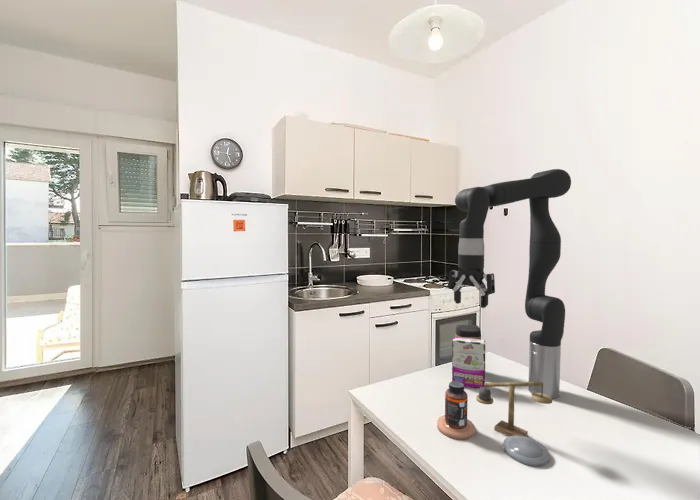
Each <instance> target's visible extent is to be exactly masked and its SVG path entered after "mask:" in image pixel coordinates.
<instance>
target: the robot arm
mask: <svg viewBox="0 0 700 500" xmlns="http://www.w3.org/2000/svg"><path fill="white" fill-rule="evenodd" d="M571 186H572V179H571V176H570V173H568V172H567V171H566V170H564V169H561V168H555V169H554V168H553V169H548V170H543V171H539V172H536V173H533V175H532V176H531V177H530V178H523V179H516V180H508V181H502V182H497V183H492V184H489V185H486V186H485V185H484V186H475V187H470V188H464V189H462V190H460V191H459V192H458V193H457V194H456V196H455V198H454V204H455V206H456V208H457V209H458V210H460V211H462V212H467V215H466V218H464V219H463V220H461V221H460V223H459V232H458V233H459V238H458V239H459V241H458V245H457V247H458V249H457V251H458V252H457V253H458V261H457V267H458V271H457V270H456V269H453V270H449V272H448V284H447V285H448V286H447V288H448V290H452V291H453V293H454V294H453V301H454V303H455V304H456V305H457V304H458V305H459V304H461V303H462V289H463V287H467V286H469V287H474V288H476V290H478V291H479V293H480V294H481V295H480V308H481V309H485V308H486V307H487V306H488V305H489V296H490V295H492V294H495V293H496V287H495V286H496V285H495V283H496V282H495V274H494V273H493V272H492V273H485V271H484V268H485V241H484V240H485V239H484V237H485V235H484V234H485V232H484V231H485V227H484V226H485V222H486V219H487V215H488V211H489V209H490V207H499V206H505V205H508V204H512V203H516V202H521V201H524V200H528V201H529V213H530V214H529V215H530V217H529V219H530V220H529V221H530V222H529V224H530V225H529V229H530V230H529V232H530V233H529V248H528V249H529V254H528V256H529V258H528V259H529V261H528V262H529V263H528V278H527V286H526V293H525V300H524V301H525V302H524V310H525V313H526V316H527V317H528V318H529V319H530V320H533V321H537V322H540V323H541V329H540V330H533V331H531V332H530V333H529V348H528V349H529V352H528V355H529V357H528V382H543V394H546V395H549V396H550V397H552V399H555V398H556V399H557V398H559V396H560V383H561V350H562V348H561V347H562V339H563V336H564V329H565V321H566V307H565V303H564V301H563V300H562V299H561V298H559V297H555V296H552V295H551V296H550V295H546V284H547V281H548V278H549V276H550V274H551V273H552V272H553V270H554V269H555V267H556V266H557V265H558V263H559V261H560V259H561V247H562V239H561V234H560V232H559V230H558V228H557V226H556V225H555V223H554V221H553V219H552V217H551V215H550V214H551V213H550V205H549V202H550V200H549V199H552V198H554V199H555V198H559V197H561V196H564V195H565V194H567V193H568V192H569V191H570V189H571ZM457 277H458V281H457ZM484 279H485V281H486V284H485V283H484ZM527 387H528V391H529V393H531V394H533V393H541V389H542V386H527Z"/></svg>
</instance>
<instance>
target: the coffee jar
mask: <svg viewBox="0 0 700 500" xmlns="http://www.w3.org/2000/svg"><path fill="white" fill-rule="evenodd" d="M454 335H455V336H454V337H461V338H471V339H481V340H482V331H481V327H479V326H478V325H476V324H475V325H474V324H457V325H456V327H455V332H454Z"/></svg>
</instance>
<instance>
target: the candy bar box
mask: <svg viewBox="0 0 700 500" xmlns="http://www.w3.org/2000/svg"><path fill="white" fill-rule="evenodd" d="M451 345H452V346H451V348H452V350H451V351H452V352H451V353H452V355H451V356H452V357H451V358H452V359H451V360H452V361H451V363H452V365H451V367H452V368H451V371H452V372H451V374H452V377H451V382H452V381H457V382H461V383H463V384H464V388H465V387H466V388H471V389H478V390H479V388H480V387H485V386H484V383H486V339H482V338H481V339H471V338H461V337H456V336H453V339H452V342H451Z"/></svg>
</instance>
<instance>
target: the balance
mask: <svg viewBox="0 0 700 500" xmlns="http://www.w3.org/2000/svg"><path fill="white" fill-rule="evenodd" d="M484 386H485V387H480V388H479V389H478V394H477V395H476V398H475V399H476V401H477V402H478V403H481V404H483V405H492V404H494V398H493V397H492V390H491V388H492V387H499V388H500V387H501V388H502V387H508V409H507V410H508V412H507V415H508V418H507V419H508V420H507V421H508V422H507V421H505V420H502V419H501V420H499V422H497V423H496V424H495V425H494V427H493V428H494V429H493V430H494V431H495V432H496V433H497V432H498V433H499V434H502V435H504V436H506V437H509V436H524V437H528V435H529V433H528V432H529V431H528V430H526V429H524V428H522V427H519V426H517V425H515V423H514V422H515V397H516V395H515V394H516V392H515V390H516V389H515V387H528V386H542V389H541V393H531V399H532V400H533V401H534V402H537V403H539V404H544V405H546V404H547V405H551V404H552V403H553V399H554V398H552V397H550V396H549V395H546V394H543V382H529V381H513V382H510V381H509V382H508V381H507V382H485V383H484Z"/></svg>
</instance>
